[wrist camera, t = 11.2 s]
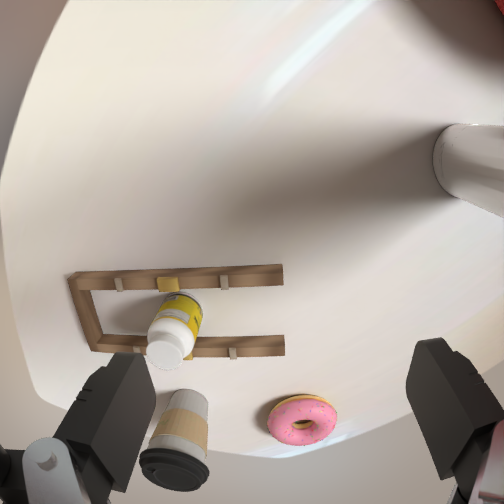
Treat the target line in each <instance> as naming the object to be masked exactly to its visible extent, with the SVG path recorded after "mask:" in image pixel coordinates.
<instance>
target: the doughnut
mask: <svg viewBox="0 0 504 504" xmlns="http://www.w3.org/2000/svg"><path fill="white" fill-rule="evenodd" d="M336 413H337V412H336V411H335V409H334V408H333V406H332V405H331V404H330V403H329V402H328V401H327V400H325V399H323V398H320V397H317V396H312V395H299V396H294V397H290V398H288V399H285V400H283V401H282V402H280V403H279V404H277V405H276V406H275V407H274V408H273V409H272V411H271V413H270V415H269V418H268V421H267V426H268V428H267V429H269V431H270V432H269V433H271V434H272V436H273V437H274V438H276V439H277V440H278V441H280V442H282V443H285V444H287V445H295V446H302V445H304V446H305V445H309V444H313V443H316V442H318V441H321V440H322V439H324V438H326V437H327V436H328V435H329V434H330V433H331V432H332V431H333V429H334V428H335V424H336V420H337V414H336ZM298 420H311V421H310V422H307V423H303V424H296V423H293V422H297V421H298Z"/></svg>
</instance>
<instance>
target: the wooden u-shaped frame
mask: <svg viewBox="0 0 504 504" xmlns="http://www.w3.org/2000/svg"><path fill="white" fill-rule="evenodd" d="M67 280H68V284H69V287H70V291H71V294H72V297H73V301H74V304H75V307H76V310H77V313H78V316H79V319H80V322H81V325H82V328H83V331H84V334H85V336H86V339H87V342H88V345H89V347H90V350H91V351H94V352H105V353H116V352H118V351H120V352H136V353H141V354H142V355H146V348H147V346H148V344H149V343H148V339H147V336H131V335H111V334H103V332H102V329H101V326H100V323H99V320H98V316H97V313H96V310H95V306H94V303H93V300H92V296H91V293H90V290H117V292H123V291H124V290H149V289H159V292H179V290H180V289H197V288H221V290H229V287H255V286H278V285H283V267H282V264H275V265H253V266H230V267H206V268H180V269H153V270H123V271H90V272H76V273H74V274H73V275H72V276H71V277H70V278H68V279H67ZM265 356H285V342H284V335H273V336H243V337H197V338H196V341H195V344H194V347H193V349H192V351H191V353H190V354H189V355H188V356H186V357H185V358H183V360H193V357H230V359H237V357H265Z"/></svg>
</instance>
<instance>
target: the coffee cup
mask: <svg viewBox="0 0 504 504" xmlns="http://www.w3.org/2000/svg"><path fill="white" fill-rule="evenodd" d="M207 416H208V401H207V399H206V398H205V397H204V396H203V395H202V394H200V393H198V392H196V391H193V390H189V389H181V390H178V391H176V392H175V393H174V394H173V396H172V398H171V400H170V402H169V404H168V406H167V408H166V410H165V412H164V413H163V414H162V416H161V418H160V420H159V422H158V424H157V427H156V429H155V431H154V433H153V435H152V437H151V439H150V441H149V446H148V448H147V449H146V450H144V451H143V452H142V453H141V454H140V459H139V464H140V466H141V468H142V473H143V475H144V476H145V477H146V478H147V479H148V480H149V481H151V482H152V483H154V484H156V485H158V486H161V487H163V488H166V489H169V490H174V491H181V492H188V491H194V490H197V489H198V488H200V486H201V485H202V484H204V483H205V482H206V481H207V478H208V476H209V470H208V468H207V466H206V465H205V459H206V456H207V436H208V424H207Z"/></svg>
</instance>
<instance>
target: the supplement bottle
mask: <svg viewBox="0 0 504 504" xmlns="http://www.w3.org/2000/svg"><path fill="white" fill-rule="evenodd" d="M202 317H203V309H202V306H201V304H200V303H199V301H198V300H197V299H196V298H195V297H193V296H192V295H190V294H187V293H183V292H177V293H173V294H171V295H169V296H168V297H167V298H166V299H165V300H164V302H163V303H162V305H161V307H160V309H159V311H158V313H157V314H156V316H155V318H154V320H153V322H152V324H151V325H150V328H149V330H148V333H147V339H148V343H149V344H148V346H147V348H146V355H147V358H148V359H149V361H150V362H151V363H152V364H153V365H154V366H156V367H158V368H160V369H163V370H173V369H176V368H178V367H179V366H180V365H181V363H182V361H183V358H185V357H186V356H188V355H189V354H190V353H191V351H192V349H193V347H194V344H195V341H196V338H197V334H198V331H199V328H200V324H201V321H202Z"/></svg>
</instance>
